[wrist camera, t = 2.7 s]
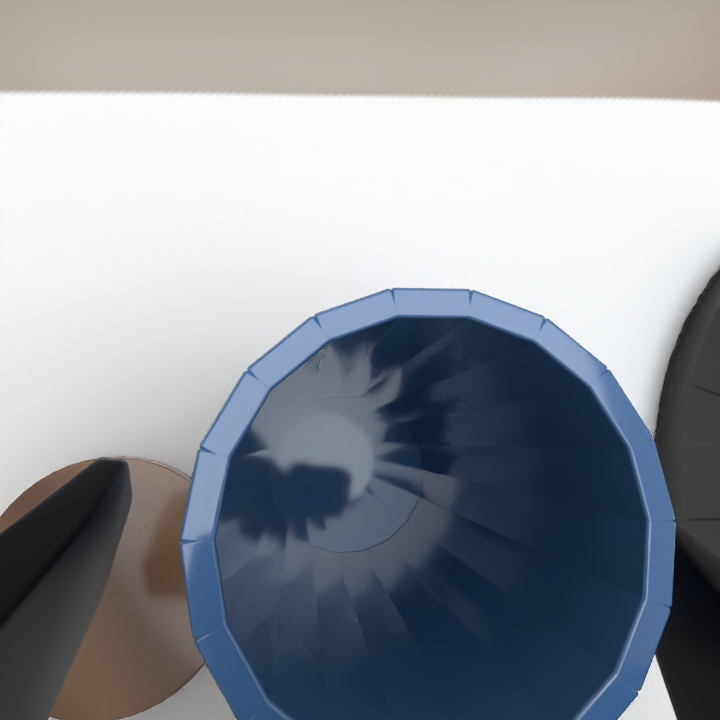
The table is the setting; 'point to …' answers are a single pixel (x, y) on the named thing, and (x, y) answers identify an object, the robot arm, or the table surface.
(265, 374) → the pen cup
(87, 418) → the table surface
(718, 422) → the dark sector wedge
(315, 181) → the table surface
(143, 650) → the coaster
